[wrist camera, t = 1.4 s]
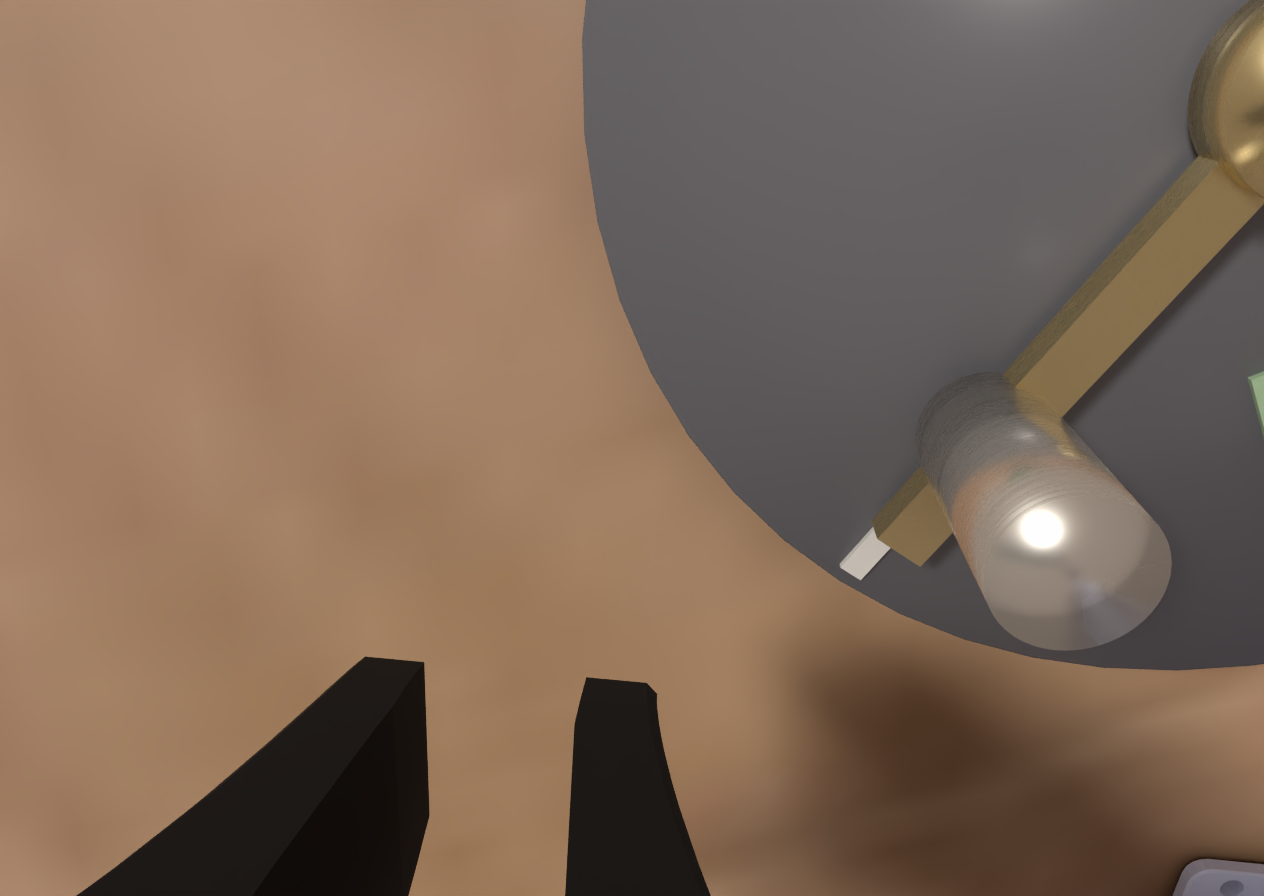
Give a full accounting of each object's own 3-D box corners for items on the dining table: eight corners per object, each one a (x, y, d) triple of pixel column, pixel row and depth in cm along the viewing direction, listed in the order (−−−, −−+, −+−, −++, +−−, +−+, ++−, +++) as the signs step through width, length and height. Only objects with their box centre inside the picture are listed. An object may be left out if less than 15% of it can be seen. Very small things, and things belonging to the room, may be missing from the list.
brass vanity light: (1310, -77, 14) (1590, -121, 9) (1463, 57, 14) (1795, 74, 10) (824, 490, 18) (862, 642, 14) (957, 577, 18) (1035, 750, 14)
